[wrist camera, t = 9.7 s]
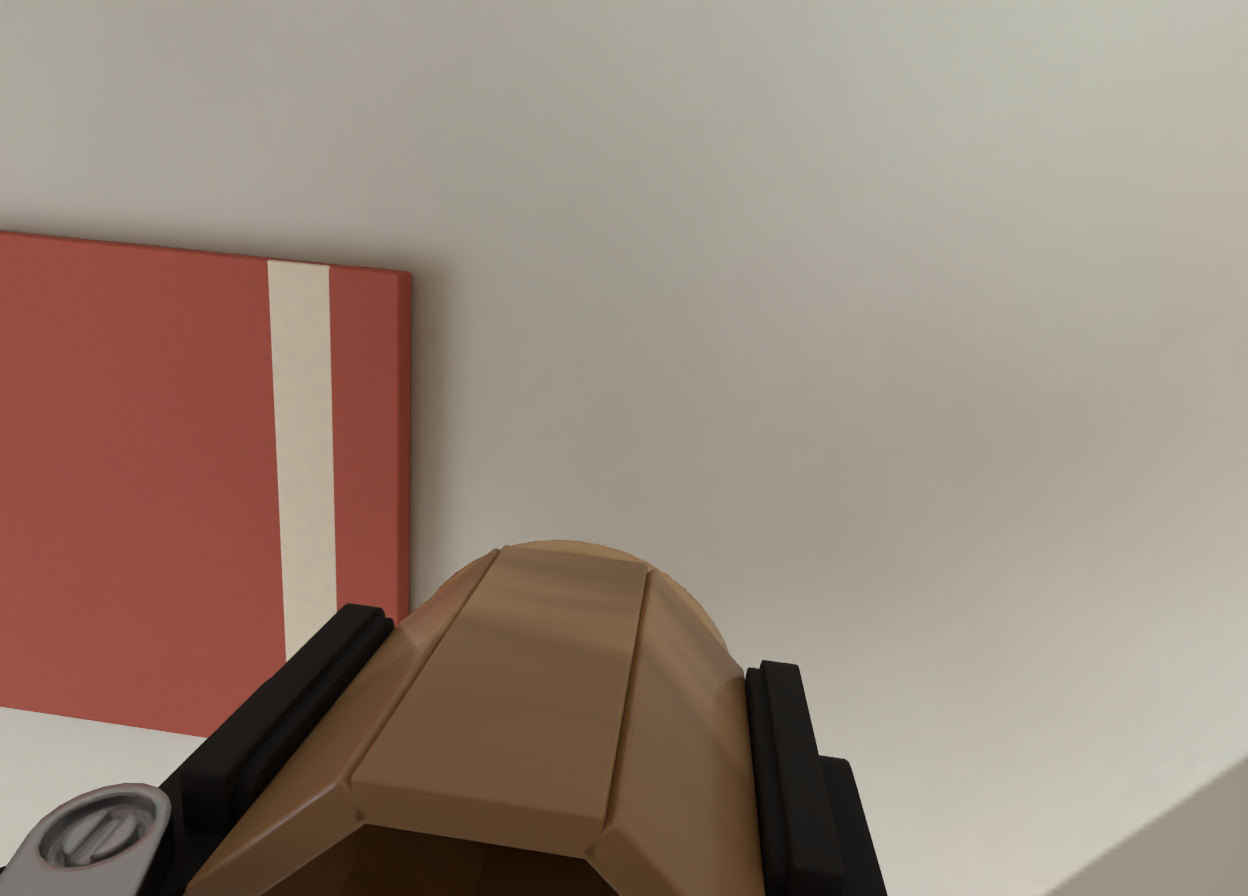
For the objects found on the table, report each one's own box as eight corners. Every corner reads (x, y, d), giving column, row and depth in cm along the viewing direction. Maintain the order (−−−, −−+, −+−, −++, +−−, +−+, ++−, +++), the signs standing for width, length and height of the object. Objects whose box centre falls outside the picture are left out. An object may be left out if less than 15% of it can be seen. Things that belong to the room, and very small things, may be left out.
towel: (-383, 192, 19) (-429, 189, 19) (412, 271, 18) (399, 273, 17) (-253, 650, 23) (-286, 664, 22) (409, 749, 22) (398, 767, 21)
